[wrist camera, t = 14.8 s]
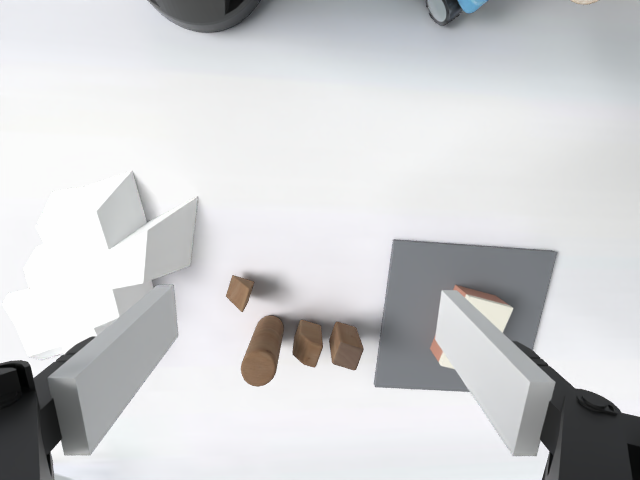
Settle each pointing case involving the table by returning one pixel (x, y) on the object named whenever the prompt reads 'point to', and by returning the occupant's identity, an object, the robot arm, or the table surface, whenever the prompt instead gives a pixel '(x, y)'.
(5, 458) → the robot arm
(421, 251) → the rubber mat
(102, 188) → the paper sheets
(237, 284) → the wooden block set
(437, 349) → the card deck
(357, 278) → the table surface
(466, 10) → the toy excavator
